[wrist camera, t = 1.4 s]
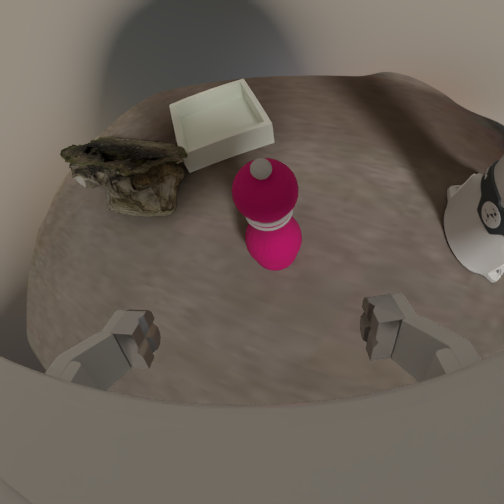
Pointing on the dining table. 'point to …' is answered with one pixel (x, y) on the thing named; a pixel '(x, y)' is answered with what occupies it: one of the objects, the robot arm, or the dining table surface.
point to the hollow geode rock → (130, 173)
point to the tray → (220, 124)
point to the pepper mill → (268, 211)
